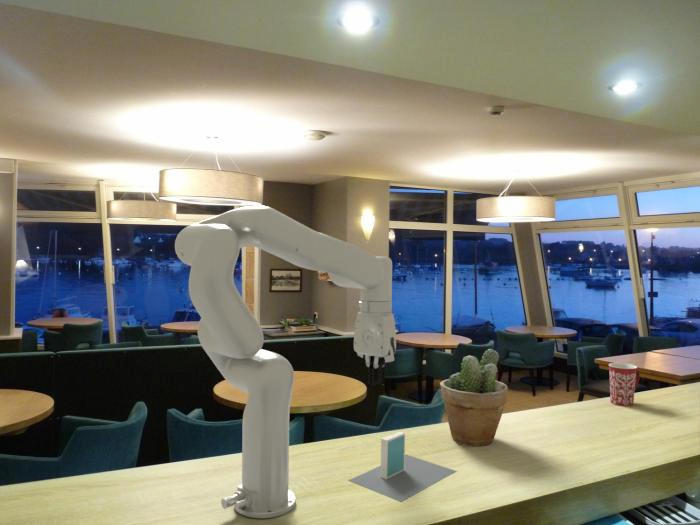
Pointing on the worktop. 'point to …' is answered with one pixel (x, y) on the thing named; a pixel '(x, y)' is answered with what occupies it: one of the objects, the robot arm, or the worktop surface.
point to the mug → (623, 383)
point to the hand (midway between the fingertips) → (375, 383)
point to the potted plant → (474, 400)
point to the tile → (392, 454)
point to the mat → (404, 479)
